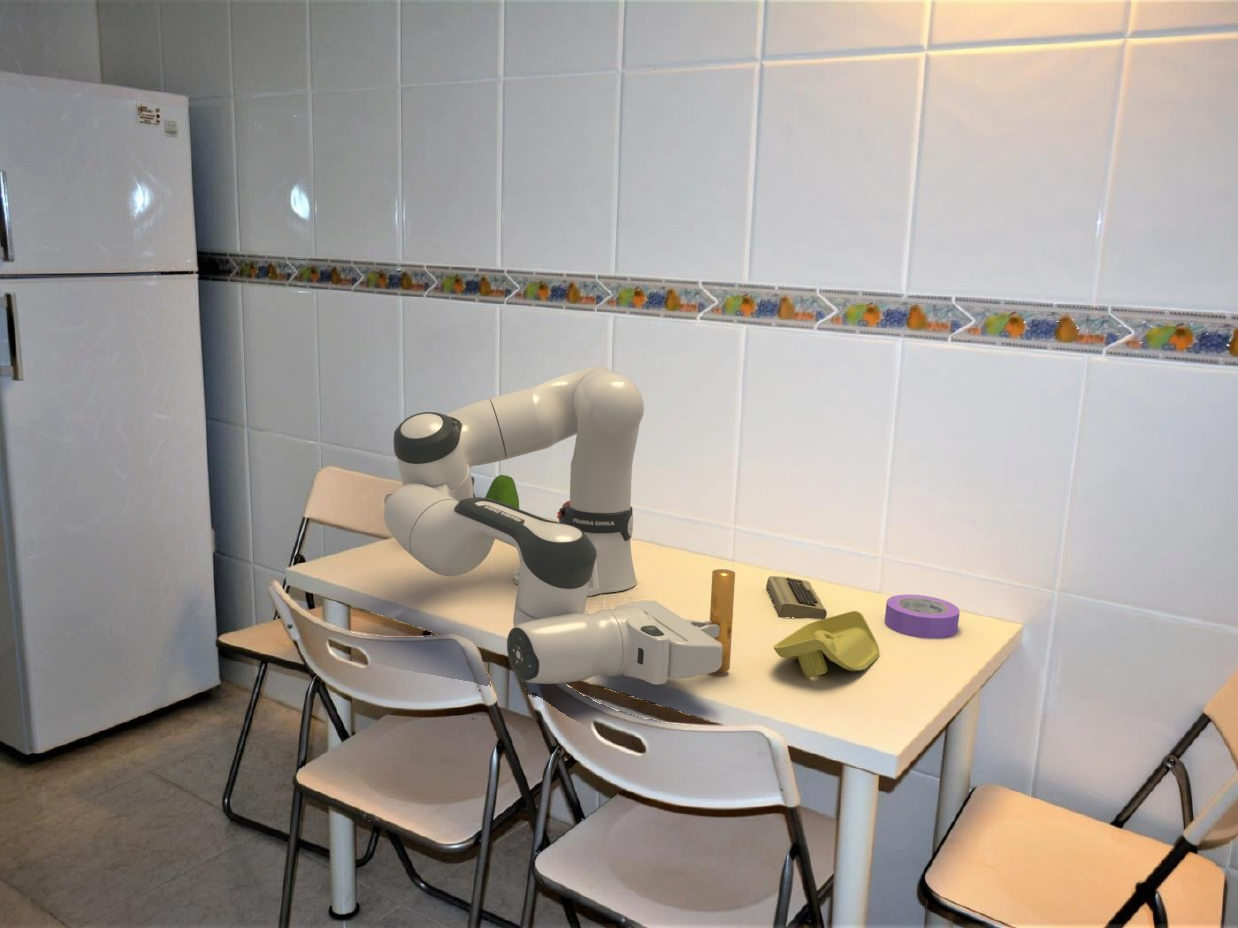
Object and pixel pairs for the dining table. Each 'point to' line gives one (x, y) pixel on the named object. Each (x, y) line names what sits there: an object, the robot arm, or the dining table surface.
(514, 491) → the avocado
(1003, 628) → the dining table surface
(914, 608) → the masking tape
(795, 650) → the plastic component
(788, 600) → the computer
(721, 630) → the crank handle
